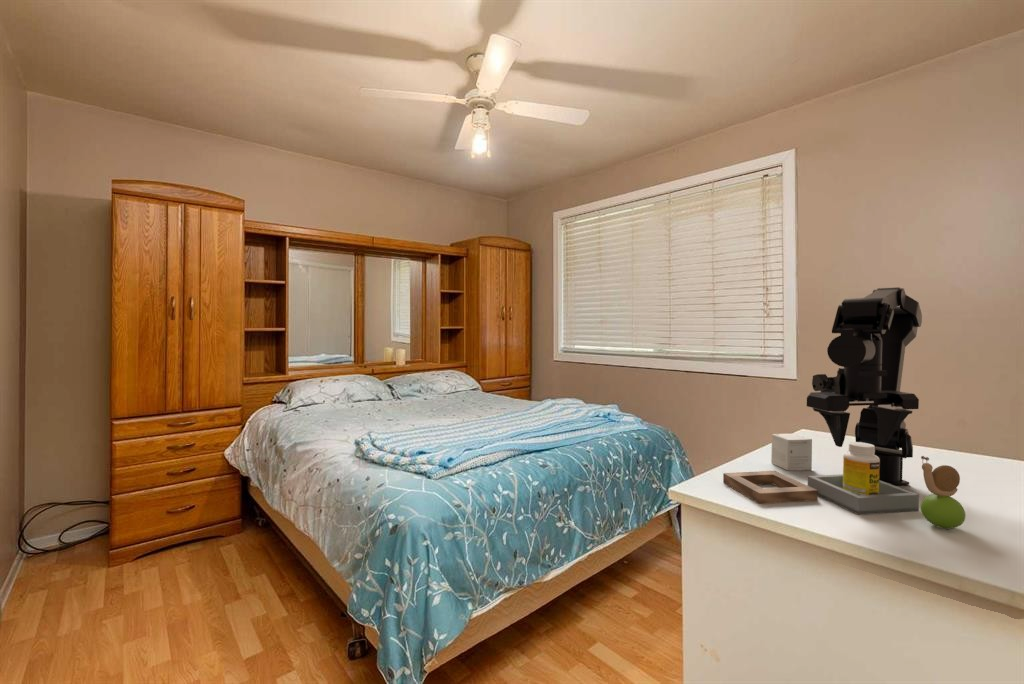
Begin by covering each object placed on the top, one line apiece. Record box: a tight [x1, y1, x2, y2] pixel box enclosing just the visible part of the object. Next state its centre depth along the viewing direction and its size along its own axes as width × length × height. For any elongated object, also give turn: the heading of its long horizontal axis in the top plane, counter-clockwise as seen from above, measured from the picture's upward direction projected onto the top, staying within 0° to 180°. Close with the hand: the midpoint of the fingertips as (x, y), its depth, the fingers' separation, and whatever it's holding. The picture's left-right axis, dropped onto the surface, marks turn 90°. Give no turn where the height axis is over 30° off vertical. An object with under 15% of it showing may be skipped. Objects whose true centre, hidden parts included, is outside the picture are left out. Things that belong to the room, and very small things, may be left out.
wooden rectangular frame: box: [722, 470, 819, 505], centre depth 94 cm, size 12×12×2 cm
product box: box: [770, 433, 813, 472], centre depth 110 cm, size 6×6×7 cm
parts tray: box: [807, 473, 920, 516], centre depth 89 cm, size 12×12×3 cm
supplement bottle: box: [842, 441, 880, 496], centre depth 88 cm, size 6×6×10 cm
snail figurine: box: [920, 455, 966, 530], centre depth 76 cm, size 5×6×12 cm
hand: (860, 445), depth 88 cm, fingers open, 9 cm apart
